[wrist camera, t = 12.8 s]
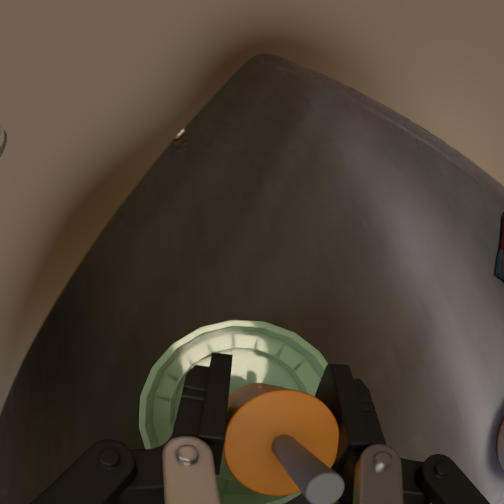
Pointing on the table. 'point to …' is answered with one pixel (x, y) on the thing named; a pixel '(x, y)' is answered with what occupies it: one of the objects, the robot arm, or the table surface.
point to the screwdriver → (282, 443)
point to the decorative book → (501, 256)
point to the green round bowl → (242, 373)
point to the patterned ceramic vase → (500, 443)
